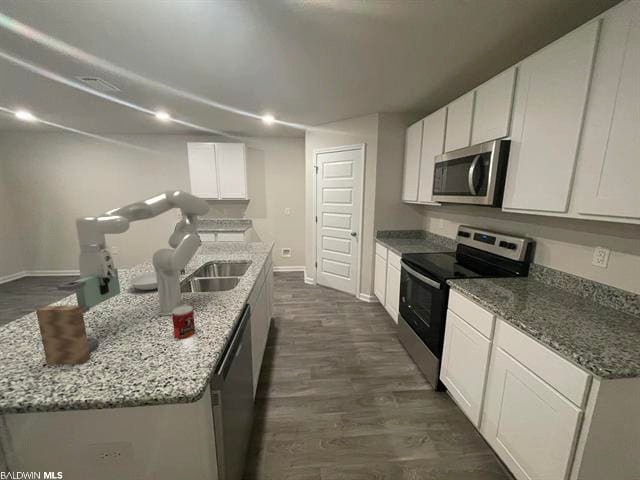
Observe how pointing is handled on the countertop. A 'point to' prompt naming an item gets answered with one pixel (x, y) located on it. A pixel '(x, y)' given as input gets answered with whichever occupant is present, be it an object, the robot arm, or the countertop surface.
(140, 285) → the soup bowl
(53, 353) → the cabinet side
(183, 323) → the canned food
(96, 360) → the countertop surface
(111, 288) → the door
